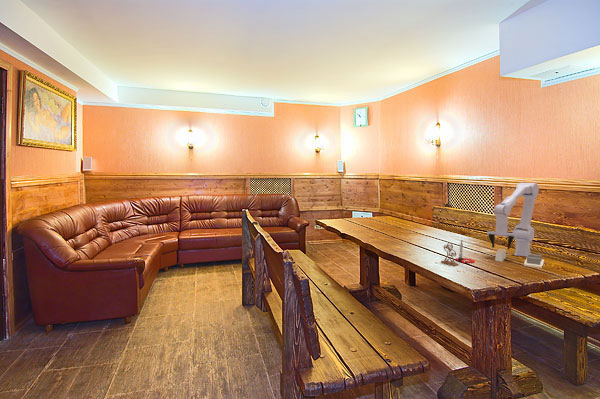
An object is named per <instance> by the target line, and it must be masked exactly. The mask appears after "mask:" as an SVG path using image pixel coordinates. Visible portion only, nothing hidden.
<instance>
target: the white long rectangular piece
mask: <svg viewBox="0 0 600 399" xmlns="http://www.w3.org/2000/svg"><path fill="white" fill-rule="evenodd" d="M506 258H507V249H505V248H504V249H503V248H498V249H497V250H496V252H495V258H494V259H495V262H500V263H503V262H504V261H505V259H506Z"/></svg>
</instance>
